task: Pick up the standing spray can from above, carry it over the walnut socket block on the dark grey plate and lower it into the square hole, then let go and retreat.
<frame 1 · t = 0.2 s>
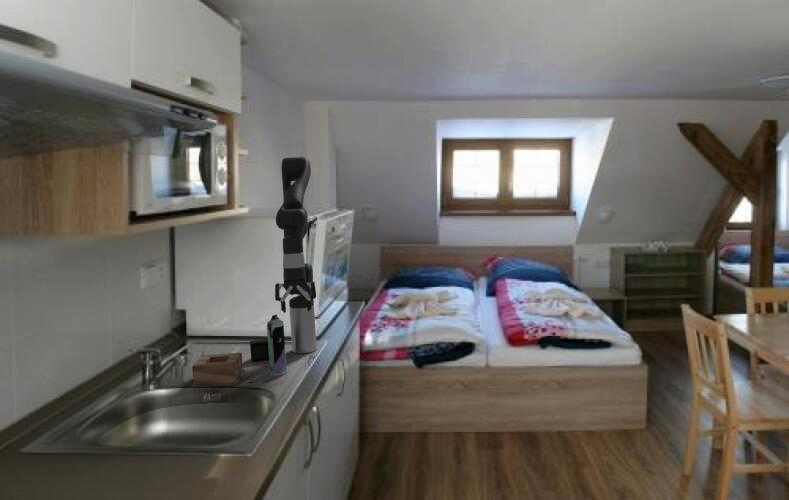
hand: (296, 311, 216), 18 cm above the worktop, tool pointing down, fingers open, 8 cm apart
digital camera: (266, 359, 223), on the worktop
socket block: (219, 379, 201), on the worktop
spray can: (278, 373, 205), on the worktop
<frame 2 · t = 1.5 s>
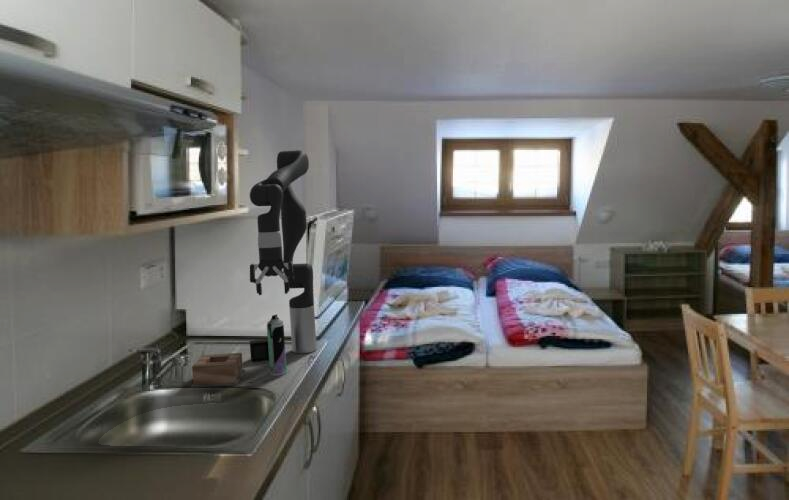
hand: (273, 294, 202), 27 cm above the worktop, tool pointing down, fingers open, 8 cm apart
nothing on the worktop moved.
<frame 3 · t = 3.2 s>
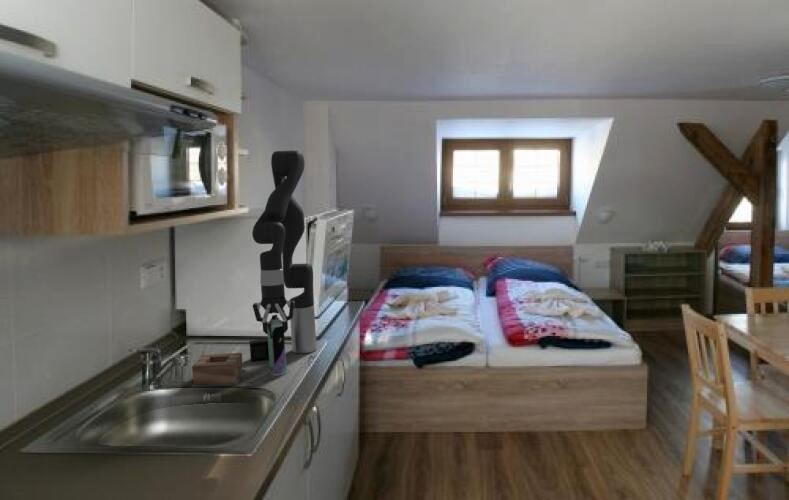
hand: (275, 332, 203), 14 cm above the worktop, tool pointing down, fingers closed on spray can, 5 cm apart
spray can: (278, 373, 205), on the worktop, touching gripper
everything else where it was.
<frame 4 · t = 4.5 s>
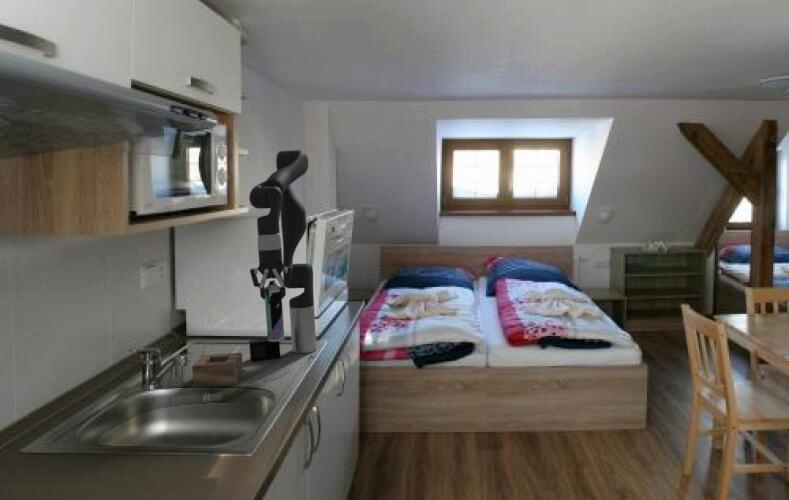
hand: (273, 298, 202), 26 cm above the worktop, tool pointing down, fingers closed on spray can, 5 cm apart
spray can: (276, 340, 204), point 11 cm above the worktop, touching gripper
everything else where it was.
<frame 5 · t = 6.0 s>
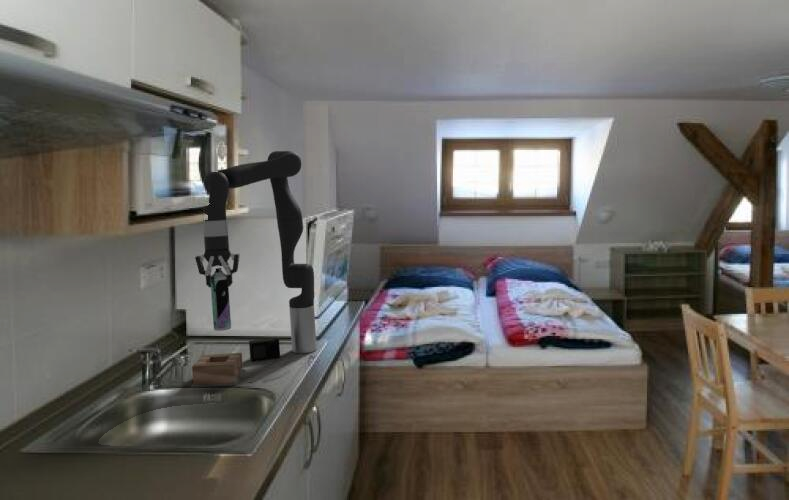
hand: (219, 286, 198), 31 cm above the worktop, tool pointing down, fingers closed on spray can, 5 cm apart
spray can: (222, 329, 199), point 17 cm above the worktop, touching gripper
everything else where it was.
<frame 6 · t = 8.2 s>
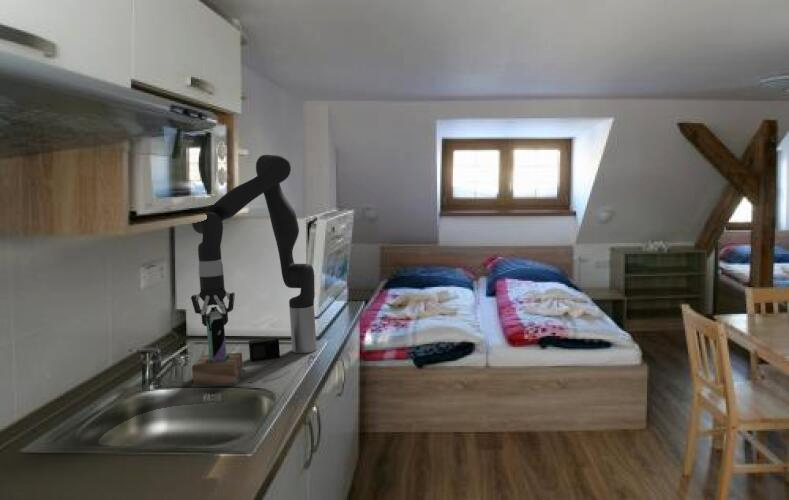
hand: (215, 324, 199), 18 cm above the worktop, tool pointing down, fingers closed on spray can, 5 cm apart
spray can: (218, 367, 201), point 4 cm above the worktop, touching gripper
everything else where it was.
when the fingers open (16 cm above the worktop, at t = 9.1 s): spray can drops 2 cm, resting on socket block.
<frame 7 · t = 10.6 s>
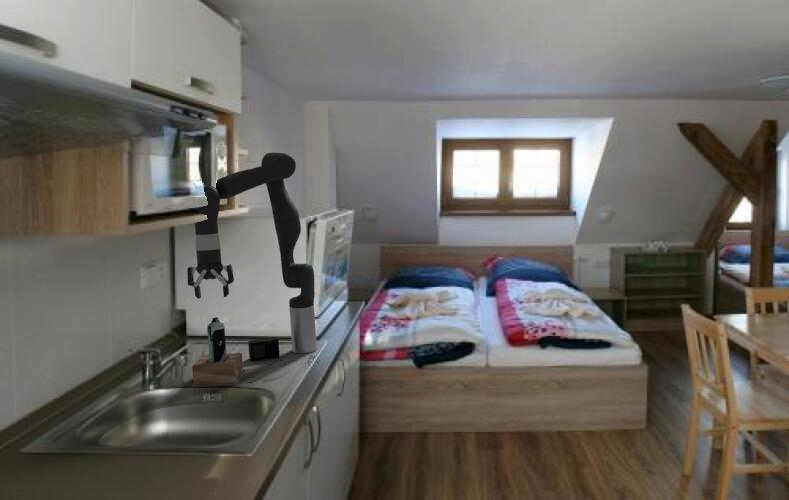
hand: (212, 297, 198), 27 cm above the worktop, tool pointing down, fingers open, 8 cm apart
spray can: (219, 377, 201), point 1 cm above the worktop, touching socket block
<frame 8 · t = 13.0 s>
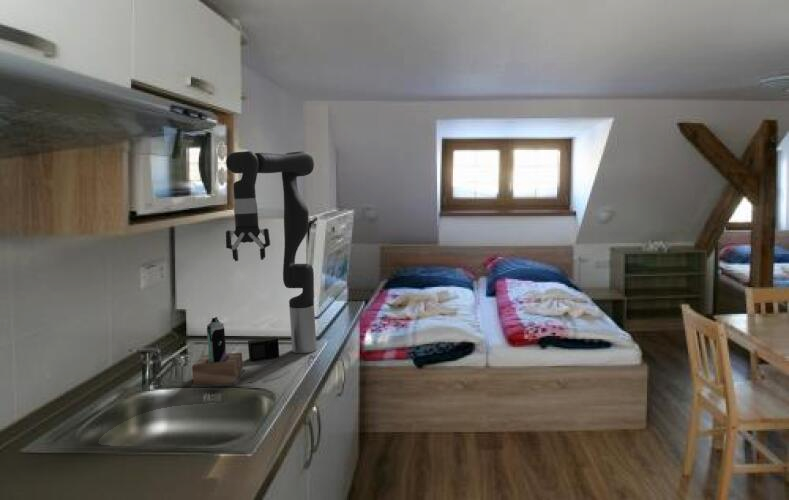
hand: (249, 260, 205), 38 cm above the worktop, tool pointing down, fingers open, 8 cm apart
at the end: spray can 0.1 cm off-centre on the socket block, point 0.6 cm above the socket block's base; spray can tilted 0°; the gripper is holding nothing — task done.
